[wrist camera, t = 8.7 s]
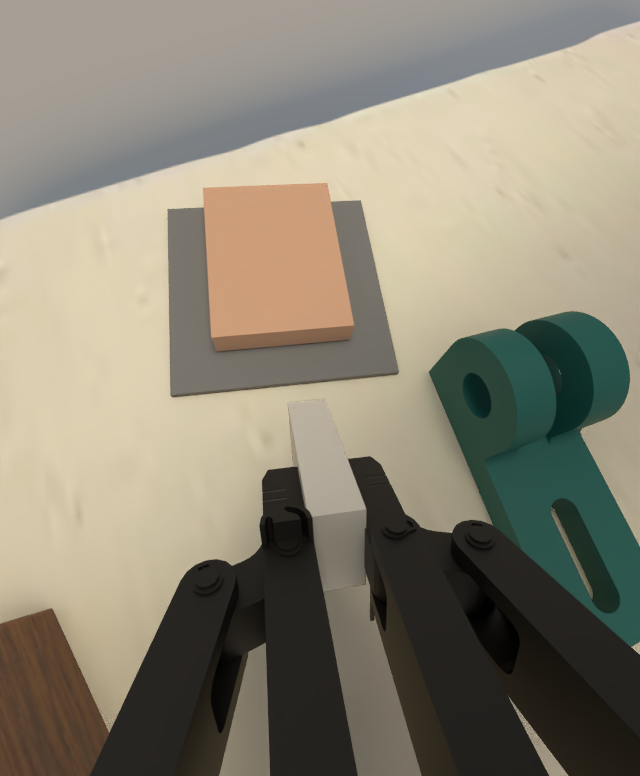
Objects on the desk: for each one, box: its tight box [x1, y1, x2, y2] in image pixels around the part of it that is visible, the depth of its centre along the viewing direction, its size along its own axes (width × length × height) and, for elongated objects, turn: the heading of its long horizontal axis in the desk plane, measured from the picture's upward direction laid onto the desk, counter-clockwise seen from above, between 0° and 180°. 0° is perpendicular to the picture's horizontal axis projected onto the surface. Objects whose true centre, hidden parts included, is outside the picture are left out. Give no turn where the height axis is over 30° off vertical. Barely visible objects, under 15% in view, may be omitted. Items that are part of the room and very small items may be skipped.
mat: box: [168, 200, 399, 397], centre depth 29 cm, size 15×15×1 cm
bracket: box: [429, 311, 640, 647], centre depth 22 cm, size 18×7×8 cm, turn 17°
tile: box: [203, 183, 354, 352], centre depth 28 cm, size 9×2×12 cm
